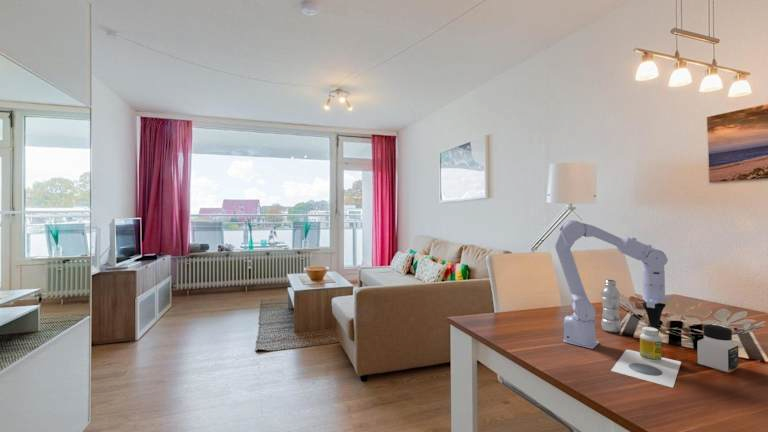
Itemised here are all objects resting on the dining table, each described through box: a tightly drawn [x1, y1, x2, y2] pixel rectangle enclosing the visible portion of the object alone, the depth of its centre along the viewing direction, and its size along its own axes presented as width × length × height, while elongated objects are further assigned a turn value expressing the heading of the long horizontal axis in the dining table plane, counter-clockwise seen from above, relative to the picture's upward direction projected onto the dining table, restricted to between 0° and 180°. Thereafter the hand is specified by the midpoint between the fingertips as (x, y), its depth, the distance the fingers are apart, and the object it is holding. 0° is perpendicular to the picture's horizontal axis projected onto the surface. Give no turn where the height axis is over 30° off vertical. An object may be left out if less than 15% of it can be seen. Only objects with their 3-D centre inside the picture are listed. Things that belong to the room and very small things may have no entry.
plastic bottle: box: [600, 279, 622, 333], centre depth 132 cm, size 6×7×20 cm
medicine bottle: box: [696, 323, 740, 374], centre depth 102 cm, size 7×7×12 cm
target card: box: [610, 349, 682, 388], centre depth 102 cm, size 14×22×1 cm, turn 134°
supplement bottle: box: [639, 326, 662, 362], centre depth 107 cm, size 5×5×10 cm
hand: (654, 325), depth 112 cm, fingers closed
